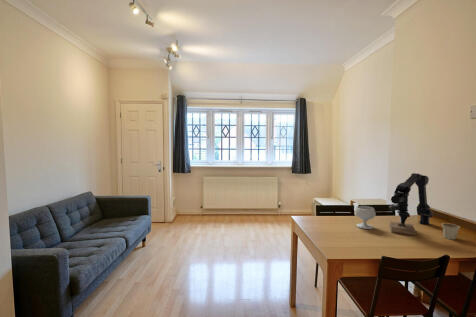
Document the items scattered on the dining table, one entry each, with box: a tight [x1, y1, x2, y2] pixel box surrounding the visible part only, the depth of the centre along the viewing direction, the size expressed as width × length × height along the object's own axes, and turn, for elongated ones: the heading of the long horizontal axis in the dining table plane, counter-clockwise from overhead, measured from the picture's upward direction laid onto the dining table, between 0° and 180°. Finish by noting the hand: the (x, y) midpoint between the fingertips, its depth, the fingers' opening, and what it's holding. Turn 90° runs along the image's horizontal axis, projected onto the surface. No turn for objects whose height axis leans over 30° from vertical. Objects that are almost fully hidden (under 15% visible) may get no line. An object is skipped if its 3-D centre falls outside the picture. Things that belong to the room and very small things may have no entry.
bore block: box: [389, 220, 417, 237], centre depth 177 cm, size 14×14×4 cm
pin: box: [399, 216, 406, 227], centre depth 176 cm, size 3×3×9 cm
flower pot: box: [441, 222, 461, 240], centre depth 163 cm, size 9×9×9 cm
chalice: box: [354, 205, 377, 230], centre depth 186 cm, size 14×14×15 cm
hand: (402, 223), depth 176 cm, fingers closed on pin, 3 cm apart
